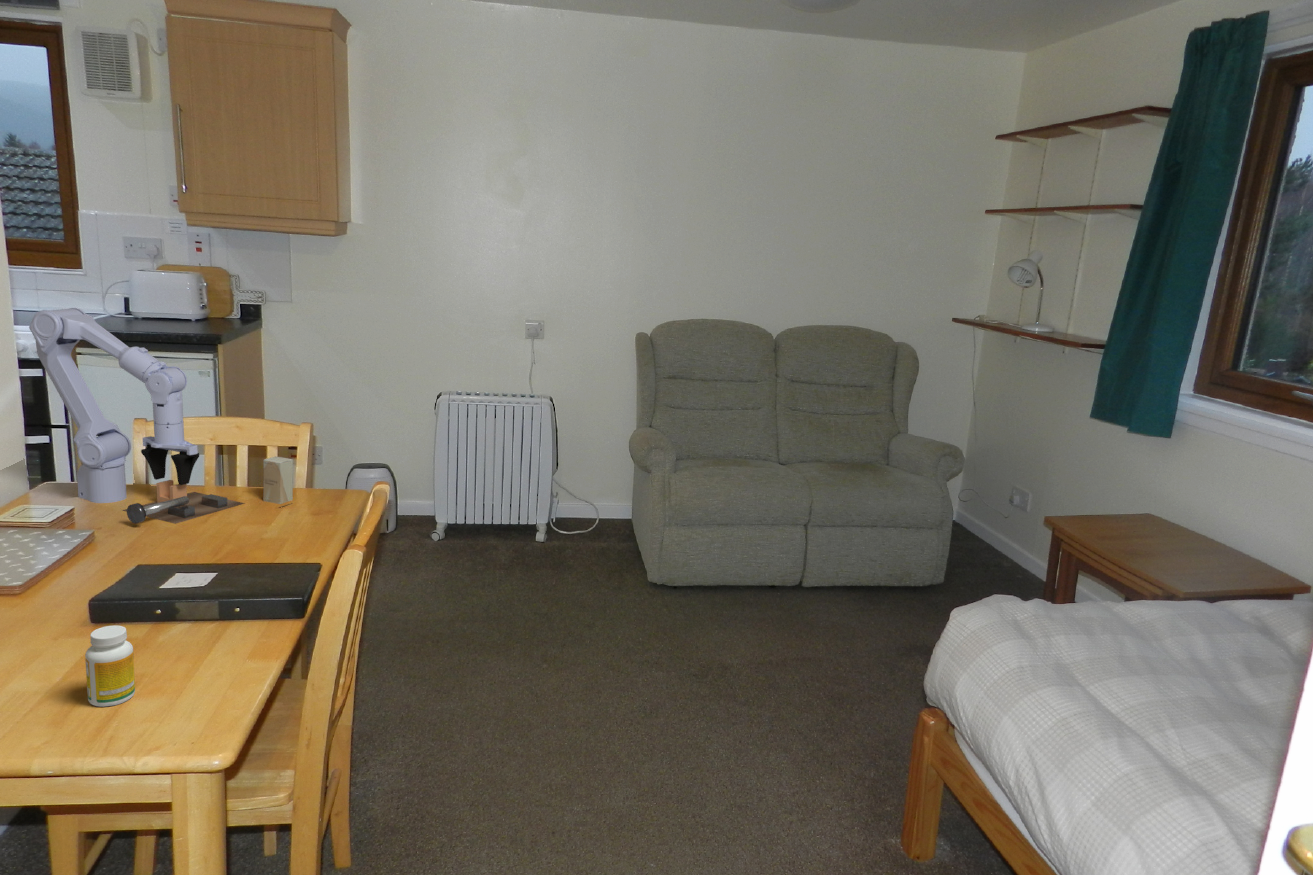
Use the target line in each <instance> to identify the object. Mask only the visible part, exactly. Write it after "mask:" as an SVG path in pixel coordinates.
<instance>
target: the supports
mask: <svg viewBox="0 0 1313 875" xmlns="http://www.w3.org/2000/svg"><path fill="white" fill-rule="evenodd" d="M227 499H228V497H226V496H220V495H218V494H217V495H215V494H212V493H210V494H206V496H202V505H205V506H210V507H214V508H222V507H225V506H227ZM168 514H170V515H174V516H178V517H182V518H187V517H190V516H194V515H195V507H193V506H189V505H182V506H178V507H174V508H171V509H168Z"/></svg>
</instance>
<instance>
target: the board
mask: <svg viewBox="0 0 1313 875" xmlns="http://www.w3.org/2000/svg"><path fill="white" fill-rule="evenodd" d="M206 495H207V494H205V493H201V492H197V491H192V492H187V497H188V499H189V503H188V504H185V505H189V506H193V507H195V515H194V516H190V517H187V518H182V517H178V516H174V515H170V514H168V509H167V510H163V511H160V512H156V513H152V514H149V515H146V518H151V519H154V520H159V521H163V522H165V523H166V522H168V523H171V524H174V525H175V524H179V523H180V524H181V523H183V522H187V521H190V520H192V519H193V520H194V519H197V518H199V517H203V516H207V515H210V514H213V513H217V512H221V511H223V510H227V509H231V508H234V507H239V506H242V505H244V504H246V503H245V502H241V501H237V500H232V499H229V498H227V506H225V507H222V508H214V507H210V506H205V505H202V496H206ZM153 504H157V500H156V501H153V502H149V503H145V504H141V505H142V506H143V507H145V506H149V505H153ZM121 511H122V512H123V511H124V512H126V513H127V508H126V509H122V510H121Z"/></svg>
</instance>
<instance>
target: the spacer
mask: <svg viewBox="0 0 1313 875" xmlns="http://www.w3.org/2000/svg"><path fill="white" fill-rule="evenodd" d="M155 484H156V501H157V503H160V502H164V501H168V500H172V499H176V498H180V497H183V496H187V493H188V490H187V489H188V487H187V484H184V485H179V483H177V484H174V480H173V479H169V480H164V481H160V482H157V483H155Z"/></svg>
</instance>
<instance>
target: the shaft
mask: <svg viewBox="0 0 1313 875" xmlns="http://www.w3.org/2000/svg"><path fill="white" fill-rule="evenodd" d="M188 503H189V499H188V497H187V496H183V497H180V498H176V499H172V500H168V501H164V502H160V503H157V504H153V505H149V506H145V507H143V506H142V505H143V504H141V503H139V502H137V503H132V504H129V505H128V507H127V508H126V509H127V512H126V515H127V516H126V517H127V518H128V520H129V521H130V522H131V523H133V524H139V523H142V522H144V521H145V520H146V518H147V517H146V515H149V514H152V513H156V512H160V511H163V510H167V509H171V508H174V507H178V506H182V505H185V504H188Z"/></svg>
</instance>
